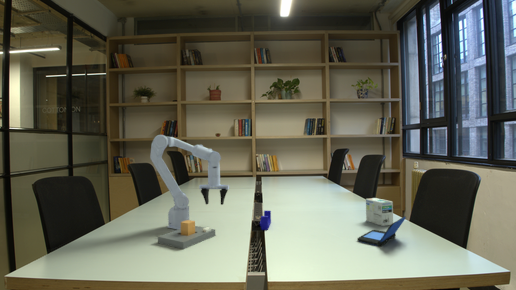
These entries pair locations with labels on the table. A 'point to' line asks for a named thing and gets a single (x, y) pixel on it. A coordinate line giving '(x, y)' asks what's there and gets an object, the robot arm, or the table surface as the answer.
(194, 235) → the socket plate
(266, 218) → the cable clip
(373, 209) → the light bulb box
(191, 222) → the plug
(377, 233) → the handheld game console
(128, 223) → the table surface
